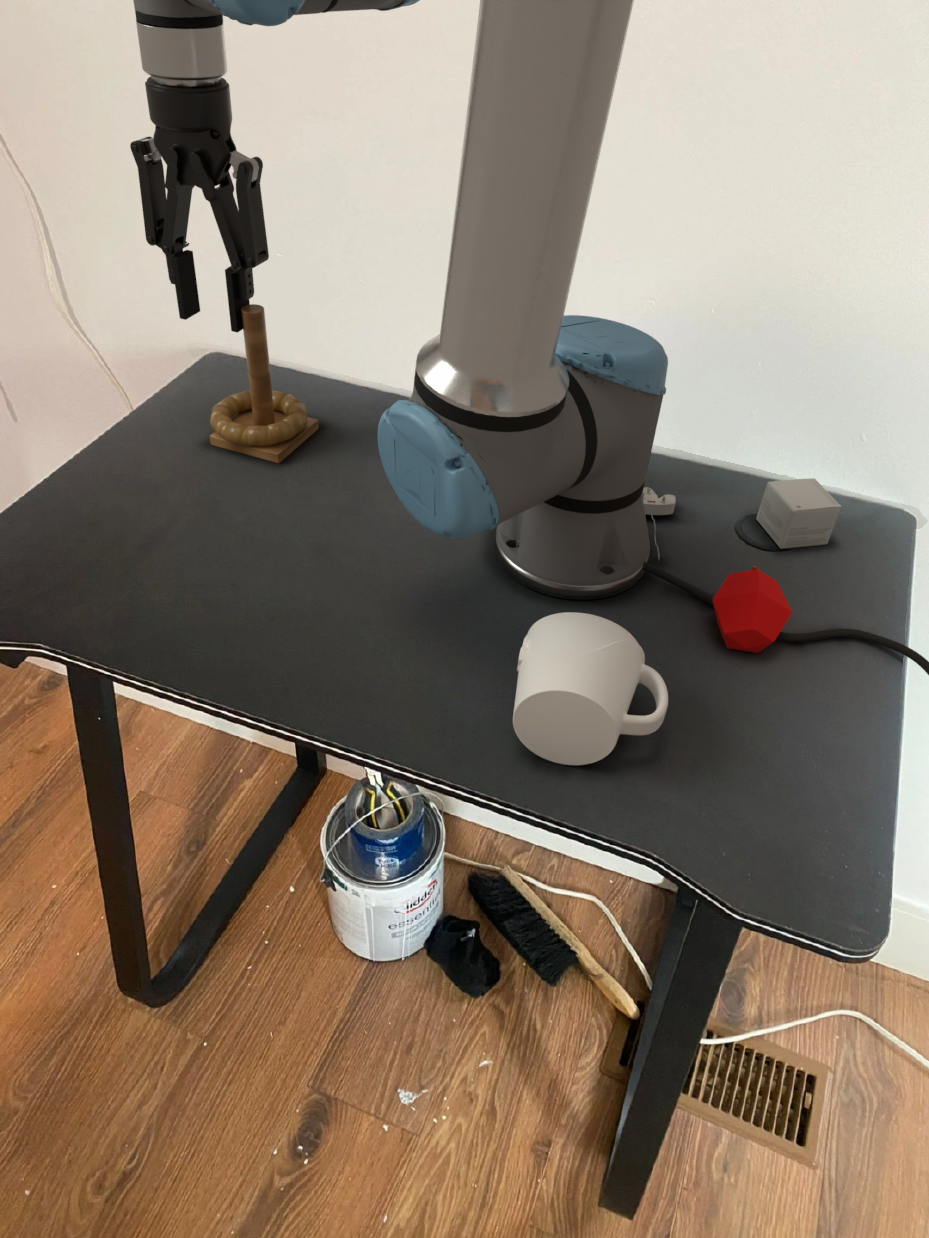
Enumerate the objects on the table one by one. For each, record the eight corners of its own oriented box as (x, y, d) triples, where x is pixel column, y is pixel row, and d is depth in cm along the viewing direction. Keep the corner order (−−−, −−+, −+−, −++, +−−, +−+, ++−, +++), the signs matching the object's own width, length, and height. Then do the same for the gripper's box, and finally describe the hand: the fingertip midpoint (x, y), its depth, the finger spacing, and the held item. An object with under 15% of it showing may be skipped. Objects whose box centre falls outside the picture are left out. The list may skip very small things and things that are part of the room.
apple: (793, 631, 76) (797, 551, 80) (708, 625, 78) (716, 548, 82) (787, 669, 82) (791, 593, 86) (709, 663, 84) (716, 589, 88)
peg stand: (319, 428, 109) (311, 302, 99) (279, 463, 102) (266, 332, 92) (253, 411, 111) (239, 286, 101) (210, 445, 105) (190, 315, 95)
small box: (829, 545, 95) (844, 505, 92) (779, 550, 94) (792, 510, 91) (801, 514, 100) (815, 475, 96) (753, 519, 98) (765, 480, 95)
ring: (324, 415, 108) (323, 398, 107) (276, 458, 101) (275, 440, 99) (245, 396, 111) (243, 379, 110) (193, 436, 104) (190, 418, 102)
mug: (498, 750, 72) (506, 677, 67) (522, 671, 79) (531, 599, 74) (651, 785, 70) (672, 713, 65) (662, 701, 77) (681, 629, 72)
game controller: (660, 494, 101) (665, 474, 100) (708, 556, 93) (714, 535, 91) (613, 499, 100) (617, 479, 98) (657, 563, 92) (662, 541, 90)
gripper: (297, 85, 85) (309, 327, 100) (128, 57, 89) (164, 292, 104) (252, 99, 79) (272, 353, 94) (75, 69, 84) (121, 315, 99)
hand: (215, 320), depth 99 cm, fingers open, 6 cm apart
